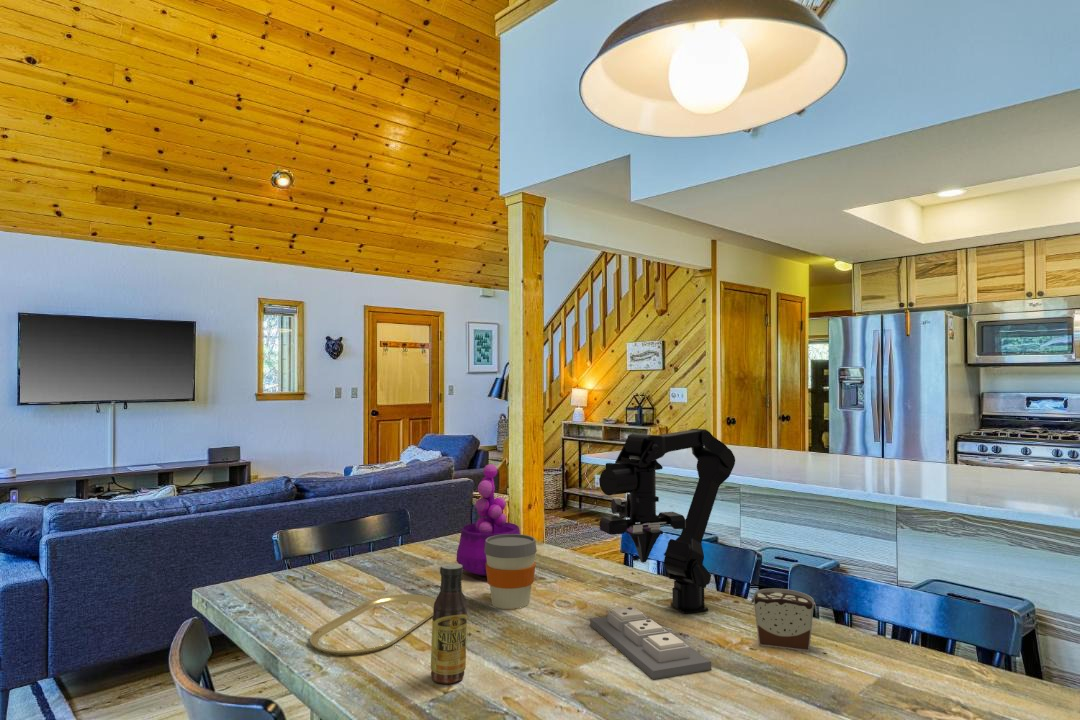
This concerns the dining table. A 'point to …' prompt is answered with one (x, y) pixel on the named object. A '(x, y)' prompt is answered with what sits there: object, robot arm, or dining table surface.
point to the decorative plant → (483, 526)
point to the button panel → (649, 649)
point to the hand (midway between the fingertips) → (643, 562)
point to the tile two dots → (627, 613)
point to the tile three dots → (645, 626)
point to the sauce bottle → (449, 627)
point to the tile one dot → (665, 641)
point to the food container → (783, 618)
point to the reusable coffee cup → (510, 569)
